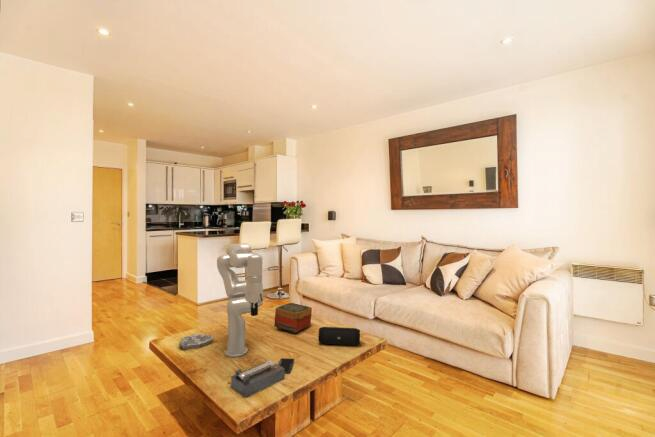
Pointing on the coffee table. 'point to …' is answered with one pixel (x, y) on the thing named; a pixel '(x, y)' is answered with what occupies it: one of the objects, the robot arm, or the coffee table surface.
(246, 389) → the base block
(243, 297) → the robot arm
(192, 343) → the brain slice
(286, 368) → the phone
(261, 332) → the coffee table surface
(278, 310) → the decorative box
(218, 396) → the coffee table surface
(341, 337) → the portable speaker
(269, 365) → the latch bar
